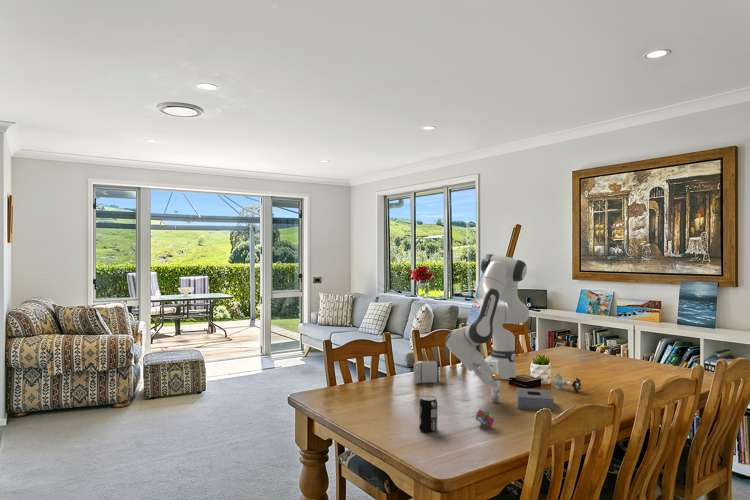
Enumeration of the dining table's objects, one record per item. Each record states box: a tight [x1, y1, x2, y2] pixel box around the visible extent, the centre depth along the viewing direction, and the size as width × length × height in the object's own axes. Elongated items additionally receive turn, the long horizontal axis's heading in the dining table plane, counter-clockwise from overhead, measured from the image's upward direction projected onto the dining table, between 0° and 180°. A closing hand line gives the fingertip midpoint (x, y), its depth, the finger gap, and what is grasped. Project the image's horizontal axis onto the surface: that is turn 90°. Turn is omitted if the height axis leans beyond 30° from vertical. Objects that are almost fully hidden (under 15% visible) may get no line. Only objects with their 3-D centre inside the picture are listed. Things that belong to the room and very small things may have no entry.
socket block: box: [515, 387, 554, 412], centre depth 216 cm, size 14×14×5 cm
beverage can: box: [418, 394, 438, 434], centre depth 185 cm, size 7×7×12 cm
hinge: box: [413, 360, 440, 385], centre depth 254 cm, size 14×5×10 cm, turn 106°
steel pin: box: [490, 374, 501, 402], centre depth 220 cm, size 4×4×11 cm
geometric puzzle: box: [475, 409, 495, 430], centre depth 188 cm, size 7×7×8 cm
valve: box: [553, 373, 582, 394], centre depth 241 cm, size 7×7×12 cm
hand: (496, 385), depth 220 cm, fingers closed on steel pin, 4 cm apart
